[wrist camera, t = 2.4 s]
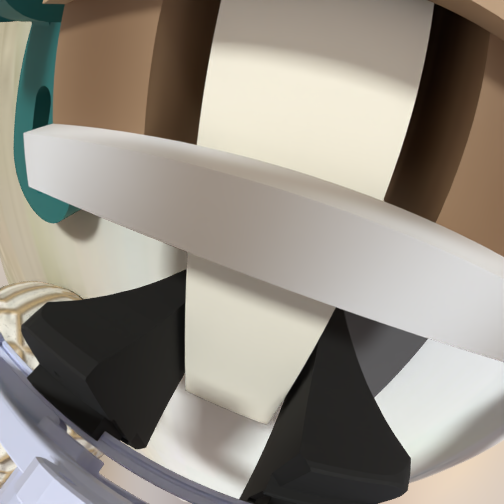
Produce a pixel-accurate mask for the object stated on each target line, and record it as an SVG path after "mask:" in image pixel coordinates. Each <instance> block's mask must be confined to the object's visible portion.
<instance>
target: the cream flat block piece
mask: <svg viewBox="0 0 504 504" xmlns="http://www.w3.org/2000/svg"><path fill="white" fill-rule="evenodd" d="M433 8H434V3H433V2H431V1H428V0H221V4H220V8H219V13H218V17H217V22H216V27H215V32H214V37H213V42H212V47H211V53H210V58H209V64H208V70H207V76H206V82H205V88H204V95H203V102H202V109H201V116H200V123H199V131H198V139H197V145H199V146H203V147H208V148H212V149H216V150H221V151H225V152H229V153H233V154H237V155H241V156H245V157H249V158H252V159H256V160H260V161H263V162H267V163H271V164H274V165H278V166H281V167H284V168H288V169H291V170H294V171H298V172H301V173H304V174H307V175H311V176H314V177H317V178H320V179H323V180H326V181H329V182H332V183H335V184H338V185H341V186H344V187H346V188H349V189H352V190H355V191H358V192H360V193H363V194H366V195H368V196H371V197H374V198H376V199H379V200H382V201H383V199H384V197H385V194H386V191H387V188H388V186H389V183H390V180H391V177H392V175H393V172H394V169H395V166H396V163H397V160H398V157H399V154H400V151H401V148H402V145H403V141H404V138H405V135H406V132H407V128H408V125H409V121H410V118H411V114H412V111H413V107H414V103H415V99H416V96H417V92H418V88H419V83H420V79H421V75H422V70H423V66H424V61H425V56H426V51H427V46H428V40H429V35H430V29H431V22H432V15H433ZM335 308H336V307H334V306H331V305H328V304H326V303H323V302H320V301H317V300H314V299H312V298H309V297H306V296H303V295H301V294H298V293H295V292H292V291H290V290H287V289H284V288H281V287H279V286H276V285H273V284H270V283H268V282H265V281H262V280H260V279H257V278H254V277H252V276H249V275H246V274H244V273H241V272H238V271H236V270H233V269H230V268H228V267H225V266H222V265H220V264H217V263H215V262H212V261H209V260H207V259H204V258H202V257H199V256H196V255H194V254H191V253H189V252H188V253H187V274H186V304H185V387H186V391H187V392H189V393H192V394H194V395H196V396H198V397H200V398H202V399H204V400H206V401H209V402H211V403H213V404H215V405H218V406H220V407H222V408H225V409H227V410H229V411H232V412H234V413H237V414H239V415H242V416H244V417H247V418H249V419H252V420H255V421H257V422H260V423H263V424H265V425H267V424H268V423H269V421H270V420H271V418H272V417H273V415H274V414H275V412H276V411H277V409H278V407H279V406H280V404H281V403H282V401H283V400H284V398H285V396H286V395H287V393H288V392H289V390H290V388H291V387H292V385H293V383H294V382H295V380H296V378H297V377H298V375H299V373H300V372H301V370H302V368H303V367H304V365H305V363H306V361H307V360H308V358H309V356H310V354H311V353H312V351H313V349H314V347H315V346H316V344H317V342H318V340H319V338H320V336H321V335H322V333H323V331H324V329H325V327H326V325H327V323H328V321H329V319H330V318H331V316H332V314H333V312H334V310H335Z"/></svg>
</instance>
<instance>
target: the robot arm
mask: <svg viewBox="0 0 504 504" xmlns="http://www.w3.org/2000/svg"><path fill="white" fill-rule="evenodd" d="M186 274H187V269H186V270H184V271H181V272H179V273H177V274H174V275H172V276H170V277H168V278H165V279H163V280H160V281H157V282H155V283H152V284H149V285H146V286H143V287H140V288H136V289H133V290H129V291H124V292H120V293H116V294H112V295H108V296H102V297H96V298H90V299H83V300H73V301H57V302H47V303H45V304H44V305H43V306H42V307H41V308H40V309H39V310H38V311H36V312H35V313H34V314H33V315H32V316H31V317H30V318H29V319H28V320H26V321H25V322H24V323H23V324H22V325H21V332H22V335H23V337H24V339H25V341H26V343H27V344H28V346H29V348H30V349H31V351H32V353H33V354H34V356H35V357H36V359H37V361H38V362H39V365H38V366H37V367H36V368H35V369H34V370H32V369H31V368H30V367H29V366H28V365H27V364H26V363H25V362H24V361H23V360H22V359H21V358H20V356H19V355H18V354H17V353H16V352H15V351H14V350H13V349H12V348H11V346H10V345H9V344H8V343H7V342H6V341H5V339H4V337H3V335H2V333H1V332H0V443H1V445H2V446H3V448H4V449H5V451H6V452H7V453H8V455H9V456H10V458H11V459H12V460H13V462H14V463H15V464H16V466H17V467H16V468H15V470H14V471H13V472H12V474H11V475H10V477H9V478H8V479H7V481H6V482H5V483H4V485H3V486H2V488H1V489H0V504H149V503H147V502H145V501H143V500H141V499H140V498H138V497H136V496H134V495H132V494H131V493H129V492H127V491H126V490H124V489H122V488H121V487H119V486H118V485H116V484H114V483H113V482H111V481H110V480H108V479H107V478H105V477H104V476H102V475H101V474H99V471H100V469H101V468H102V467H103V465H104V463H103V462H102V461H101V460H100V459H98V458H97V457H96V456H95V455H93V454H92V453H91V452H90V451H88V450H87V449H86V448H85V447H84V446H83V445H81V444H80V443H79V442H78V441H76V440H75V439H74V438H73V437H72V436H70V435H69V434H68V433H67V426H68V427H70V428H71V429H72V430H73V431H74V432H76V433H77V434H78V435H79V436H81V437H82V438H83V439H84V440H86V441H87V442H88V443H90V444H91V445H92V446H94V447H95V448H96V449H98V450H99V451H101V452H102V453H103V454H105V455H106V456H108V457H109V458H111V459H112V460H114V461H115V462H117V463H118V464H120V465H122V466H123V467H125V468H126V469H128V470H130V471H131V472H133V473H134V474H136V475H138V476H139V477H141V478H143V479H145V480H146V481H148V482H150V483H152V484H154V485H155V486H157V487H159V488H161V489H163V490H165V491H167V492H169V493H171V494H173V495H175V496H177V497H179V498H181V499H184V500H186V501H188V502H190V503H192V504H378V503H381V502H385V501H388V500H392V499H395V498H397V497H400V496H402V495H403V494H404V493H405V492H406V491H407V490H408V484H409V478H410V469H411V458H410V456H409V455H408V454H407V452H406V451H405V449H404V448H403V446H402V445H401V443H400V442H399V441H398V439H397V438H396V436H395V435H394V433H393V432H392V430H391V428H390V427H389V425H388V423H387V422H386V420H385V418H384V417H383V415H382V413H381V411H380V409H379V407H378V405H377V403H376V401H375V399H374V397H373V395H372V393H371V391H370V389H369V386H368V384H367V382H366V380H365V377H364V374H363V372H362V369H361V367H360V364H359V361H358V358H357V355H356V352H355V349H354V346H353V342H352V339H351V335H350V332H349V328H348V324H347V320H346V315H345V311H344V310H343V309H340V308H337V307H336V308H335V310H334V312H333V314H332V316H331V318H330V319H329V321H328V323H327V325H326V327H325V329H324V331H323V333H322V335H321V336H320V338H319V340H318V342H317V344H316V346H315V347H314V349H313V351H312V353H311V354H310V356H309V358H308V360H307V361H306V363H305V365H304V367H303V368H302V370H301V372H300V373H299V375H298V377H297V378H296V380H295V382H294V383H293V385H292V387H291V388H290V390H289V392H288V393H287V395H286V396H285V399H284V402H283V405H282V407H281V410H280V413H279V415H278V418H277V420H276V422H275V425H274V427H273V430H272V432H271V434H270V437H269V439H268V441H267V444H266V446H265V448H264V450H263V452H262V455H261V457H260V459H259V461H258V463H257V465H256V467H255V469H254V471H253V473H252V475H251V477H250V479H249V481H248V483H247V485H246V487H245V489H244V491H243V493H242V495H241V497H240V499H236V498H234V497H231V496H228V495H225V494H223V493H220V492H217V491H215V490H212V489H210V488H208V487H205V486H203V485H201V484H198V483H196V482H194V481H191V480H189V479H187V478H185V477H183V476H181V475H179V474H177V473H175V472H173V471H171V470H169V469H167V468H165V467H163V466H161V465H159V464H157V463H156V462H154V461H152V460H150V459H148V458H147V457H145V456H143V455H141V454H140V453H138V452H136V451H135V450H133V449H132V448H130V447H128V446H127V445H130V446H132V447H133V448H135V449H142V448H146V446H147V444H148V442H149V440H150V438H151V436H152V434H153V432H154V430H155V428H156V426H157V423H158V421H159V420H160V418H161V416H162V414H163V412H164V410H165V408H166V406H167V404H168V402H169V400H170V399H171V397H172V395H173V393H174V391H175V390H176V388H177V386H178V384H179V382H180V381H181V379H182V377H183V375H184V374H185V304H186ZM66 425H67V426H66ZM120 440H121V441H122V442H124V443H125V444H127V445H125V444H124V443H122V442H120Z"/></svg>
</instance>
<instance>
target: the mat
mask: <svg viewBox="0 0 504 504" xmlns="http://www.w3.org/2000/svg"><path fill="white" fill-rule="evenodd" d="M344 311H345V315H346V320H347V324H348V328H349V332H350V335H351V339H352V342H353V346H354V349H355V352H356V355H357V358H358V361H359V364H360V367H361V369H362V372H363V374H364V377H365V380H366V382H367V384H368V386H369V389H370V391H371V393H372V395H373V397H375V396H376V395H377V394H378V393H379V392H380V391H381V390H382V389H383V388H384V387H385V386H386V385H387V384H388V383H389V382H390V381H391V380H392V379H393V378H394V377H395V376H396V375H397V374H398V373H399V372H400V371H401V370H402V368H403V367H404V366H405V365H406V364H407V363H408V362H409V361H410V359H411V358H412V357H413V356H414V355H415V354H416V352H417V351H418V350H419V349H420V348H421V347H422V345H423V344H424V343H425V342H426V340H427V339H428V338H425V337H422V336H419V335H416V334H413V333H410V332H407V331H404V330H401V329H398V328H395V327H392V326H389V325H386V324H383V323H380V322H377V321H374V320H372V319H369V318H366V317H363V316H360V315H357V314H354V313H351V312H348V311H346V310H344Z"/></svg>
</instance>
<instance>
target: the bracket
mask: <svg viewBox="0 0 504 504" xmlns="http://www.w3.org/2000/svg"><path fill="white" fill-rule="evenodd" d="M42 3H43V0H0V22H12V21H31V22H32V26H31V30H30V33H29V37H28V41H27V45H26V49H25V54H24V58H23V63H22V69H21V74H20V80H19V87H18V94H17V103H16V113H15V127H14V161H15V168H16V172H17V176H18V180H19V183H20V186H21V189H22V191H23V193H24V196H25V198H26V199H27V201H28V203H29V205H30V206H31V208H32V209H33V210H34V211H35V213H36V214H37V215H38V216H39V217H40V218H42V219H43V220H45V221H47V222H49V223H58V222H60V221H61V220H63V219H65V218H67V217H68V216H70V215H72V214H73V213H75V212H77V211H79V210H80V208H78V207H75V206H73V205H70V204H68V203H66V202H63V201H61V200H59V199H56V198H54V197H52V196H49V195H47V194H45V193H43V192H40V191H38V190H36V189H33V188H31V187H29V185H28V178H27V170H26V160H25V149H24V134H23V133H25V132H28V131H31V130H34V129H37V128H40V127H43V126H46V125H50V124H53V89H54V74H55V63H56V53H57V46H58V39H59V32H60V26H61V21H62V16H63V11H64V6H65V4H42Z"/></svg>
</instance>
